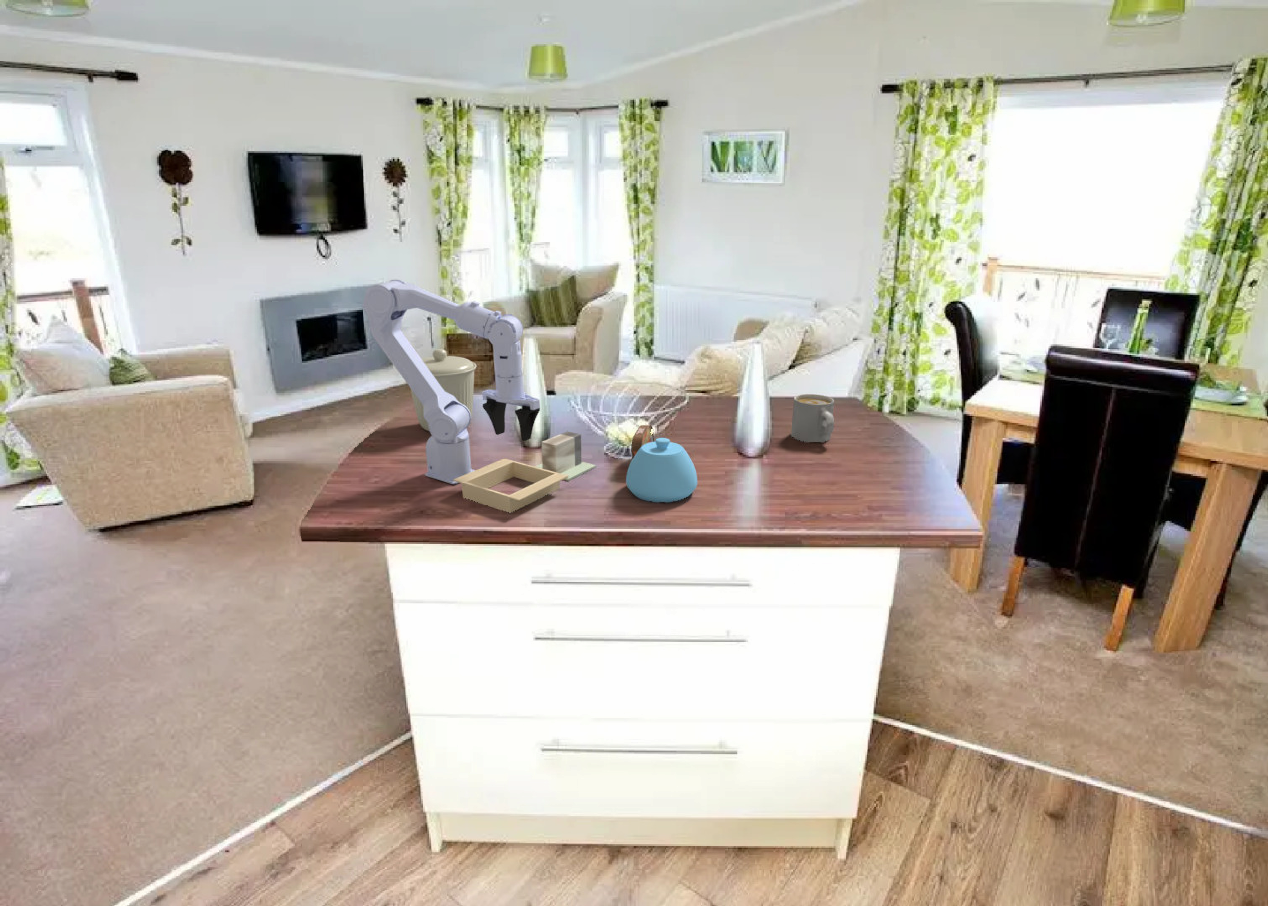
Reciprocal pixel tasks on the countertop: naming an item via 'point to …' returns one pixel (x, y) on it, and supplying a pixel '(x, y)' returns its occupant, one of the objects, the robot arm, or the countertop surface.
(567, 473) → the mat
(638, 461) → the sugar bowl
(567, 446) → the box
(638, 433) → the tin
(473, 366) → the canister
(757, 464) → the countertop surface
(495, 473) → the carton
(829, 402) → the coffee mug
